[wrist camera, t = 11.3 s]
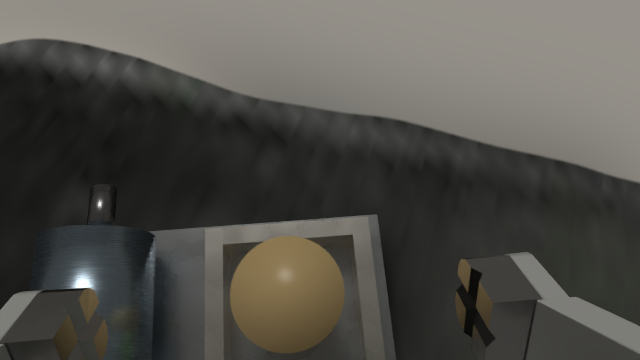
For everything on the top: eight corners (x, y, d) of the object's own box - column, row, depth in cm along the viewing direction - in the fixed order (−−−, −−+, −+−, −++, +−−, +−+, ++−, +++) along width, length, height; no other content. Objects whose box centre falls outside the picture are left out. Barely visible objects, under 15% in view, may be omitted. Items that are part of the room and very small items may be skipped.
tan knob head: (329, 267, 28) (338, 231, 19) (336, 346, 26) (350, 347, 17) (255, 273, 28) (229, 240, 19) (257, 353, 26) (231, 359, 17)
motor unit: (367, 199, 33) (388, 148, 24) (392, 396, 28) (427, 418, 20) (86, 219, 32) (4, 174, 23) (66, 427, 27) (-44, 464, 19)
